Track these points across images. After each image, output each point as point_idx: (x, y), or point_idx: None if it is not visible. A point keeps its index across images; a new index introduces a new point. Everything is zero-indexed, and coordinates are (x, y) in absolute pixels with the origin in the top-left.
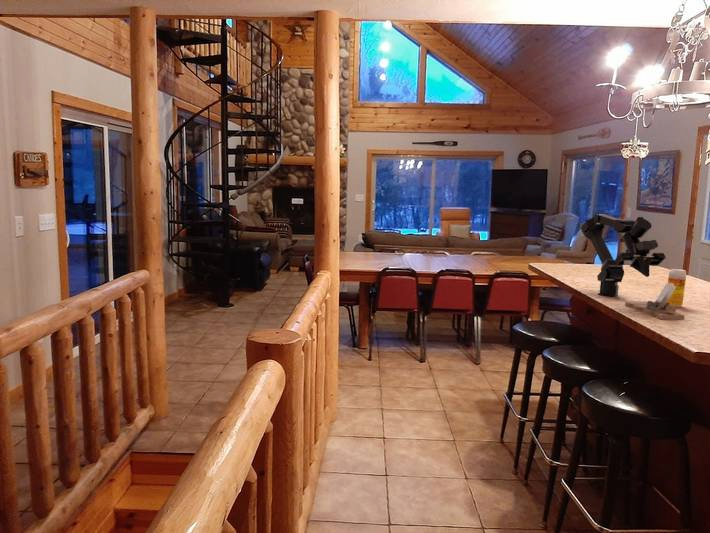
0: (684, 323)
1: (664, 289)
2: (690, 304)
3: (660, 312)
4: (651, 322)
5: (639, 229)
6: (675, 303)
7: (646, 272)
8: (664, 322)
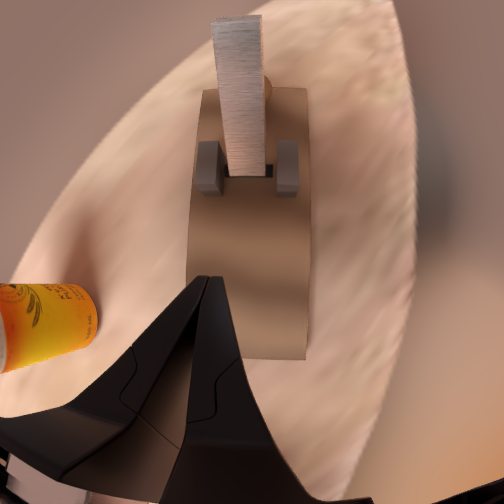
0: None
1: (262, 59)
2: None
3: (279, 124)
4: (367, 76)
5: None
6: (78, 289)
7: (220, 298)
8: (319, 70)
